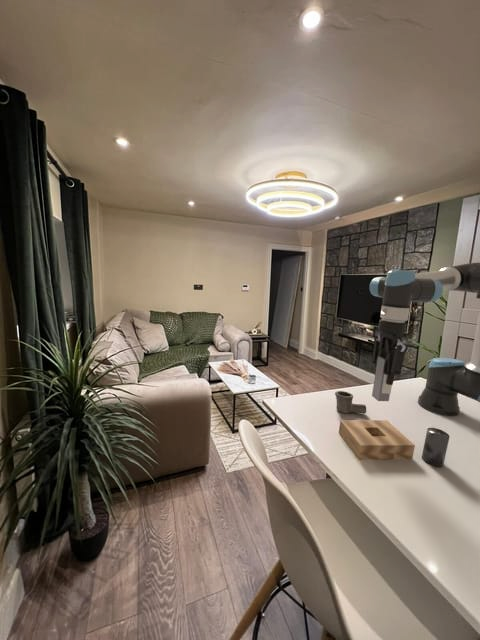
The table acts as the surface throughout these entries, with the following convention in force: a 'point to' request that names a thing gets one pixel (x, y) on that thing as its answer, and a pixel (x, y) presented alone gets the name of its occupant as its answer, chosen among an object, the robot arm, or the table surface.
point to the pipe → (348, 403)
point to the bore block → (375, 440)
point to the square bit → (380, 380)
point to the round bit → (435, 447)
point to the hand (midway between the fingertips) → (381, 389)
